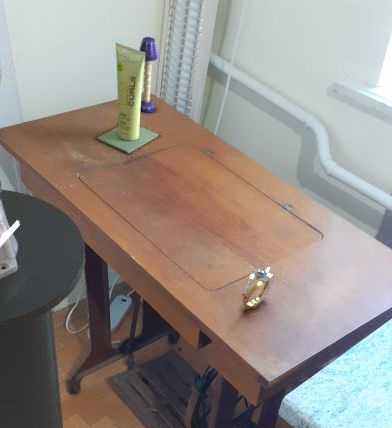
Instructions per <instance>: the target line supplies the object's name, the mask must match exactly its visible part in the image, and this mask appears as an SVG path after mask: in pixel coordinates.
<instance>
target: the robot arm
mask: <svg viewBox="0 0 392 428" xmlns="http://www.w3.org/2000/svg"><path fill="white" fill-rule="evenodd" d="M2 70H3V69H2V63H1V62H0V84H1V83H2V77H3V71H2ZM2 190H3V187H2V180H0V279H1V278H3V277H6V276H8V275H10V274H12V273H14V272H16V271H17V269H18V265H17V262H16V259H15V258H16V254H17V250H18V243H17V240H16V238H15V237H14V235H13V232H14V230H15V229H16V228H17V227H18V226H19V221H16V222H15V224H14V225H13V226H12V227H11V228H10V226H9V224H8V221H7V218H6V215H5V212H4V208H3V204H2V200H1V199H2V195H3V192H2Z"/></svg>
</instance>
